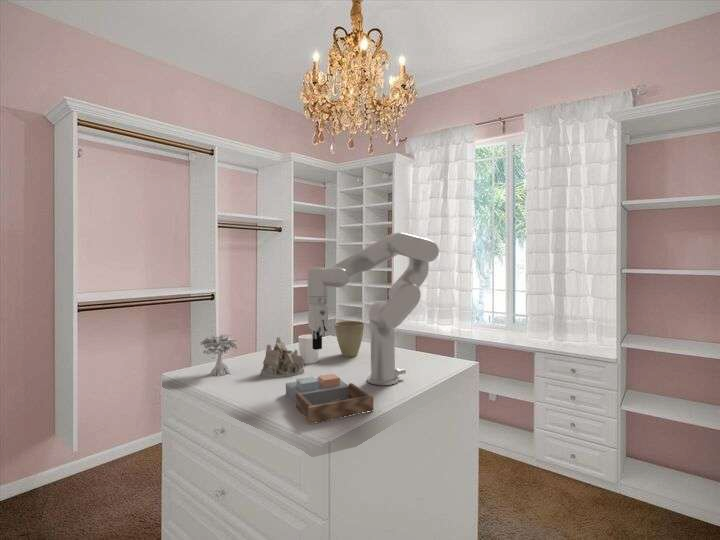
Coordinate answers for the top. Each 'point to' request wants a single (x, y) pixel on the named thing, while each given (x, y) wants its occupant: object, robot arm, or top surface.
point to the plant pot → (349, 337)
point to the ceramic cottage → (281, 362)
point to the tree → (219, 351)
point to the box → (335, 406)
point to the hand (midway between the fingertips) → (317, 348)
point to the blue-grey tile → (307, 383)
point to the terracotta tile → (329, 380)
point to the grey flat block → (319, 392)
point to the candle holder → (307, 349)
